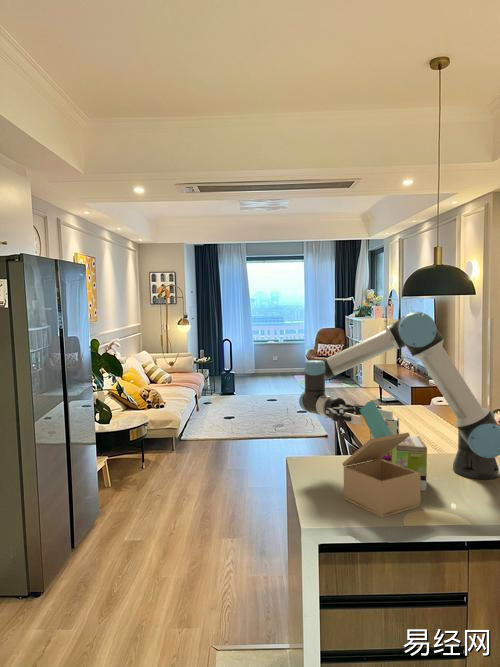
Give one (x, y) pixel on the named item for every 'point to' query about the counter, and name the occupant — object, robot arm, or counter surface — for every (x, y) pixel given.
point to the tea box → (412, 457)
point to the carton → (382, 487)
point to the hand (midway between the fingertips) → (376, 418)
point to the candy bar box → (394, 429)
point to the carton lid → (375, 437)
